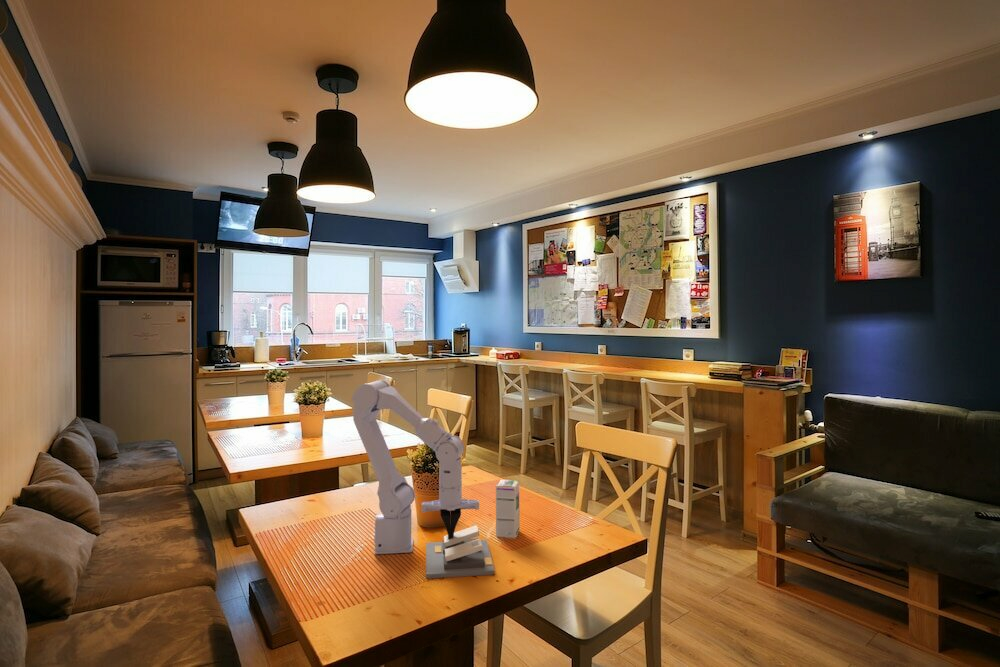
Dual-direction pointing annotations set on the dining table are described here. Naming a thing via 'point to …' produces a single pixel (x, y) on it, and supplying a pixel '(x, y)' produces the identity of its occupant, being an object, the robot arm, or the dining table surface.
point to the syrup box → (507, 508)
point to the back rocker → (462, 536)
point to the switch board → (457, 561)
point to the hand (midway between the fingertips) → (450, 537)
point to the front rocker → (463, 549)
